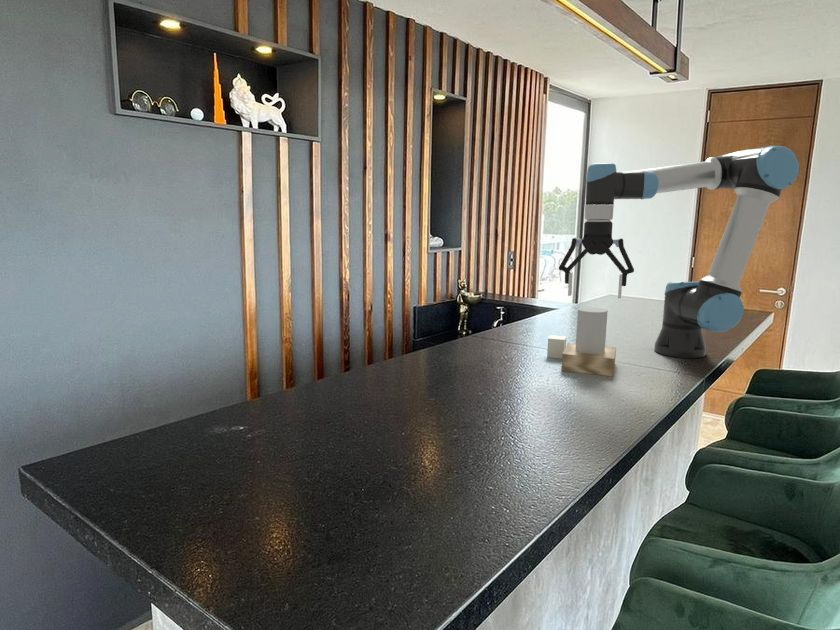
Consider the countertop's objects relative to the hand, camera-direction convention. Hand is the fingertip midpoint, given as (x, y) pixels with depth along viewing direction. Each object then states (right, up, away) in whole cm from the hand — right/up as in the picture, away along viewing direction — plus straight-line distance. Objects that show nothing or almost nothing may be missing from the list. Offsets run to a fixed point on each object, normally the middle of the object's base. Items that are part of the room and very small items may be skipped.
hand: (594, 296), depth 165 cm
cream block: (-7, -18, +16) cm, 25 cm away
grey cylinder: (0, -16, +3) cm, 16 cm away
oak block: (0, -20, +4) cm, 21 cm away
